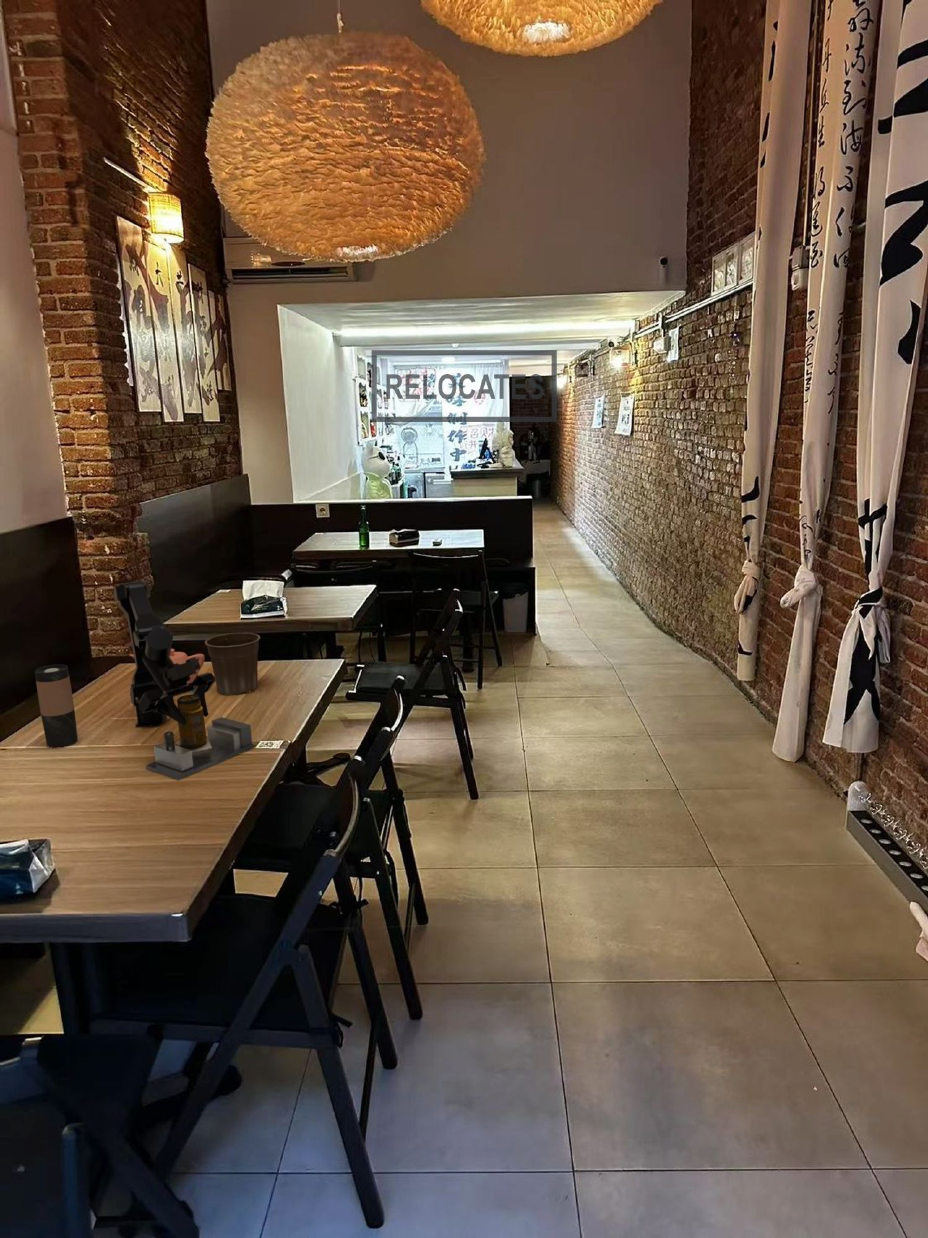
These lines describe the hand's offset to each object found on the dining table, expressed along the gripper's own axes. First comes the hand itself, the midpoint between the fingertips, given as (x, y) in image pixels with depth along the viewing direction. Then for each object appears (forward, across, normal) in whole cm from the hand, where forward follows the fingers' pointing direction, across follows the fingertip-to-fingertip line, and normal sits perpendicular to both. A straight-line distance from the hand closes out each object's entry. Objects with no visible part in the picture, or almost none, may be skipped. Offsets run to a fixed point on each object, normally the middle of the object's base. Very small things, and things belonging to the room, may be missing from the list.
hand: (196, 719), depth 186 cm
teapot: (-32, +31, +47) cm, 65 cm away
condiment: (+4, 0, +6) cm, 7 cm away
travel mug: (-21, -12, +35) cm, 43 cm away
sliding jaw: (+6, -8, +6) cm, 11 cm away
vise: (+7, 0, +6) cm, 10 cm away
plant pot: (-18, +41, +32) cm, 55 cm away
